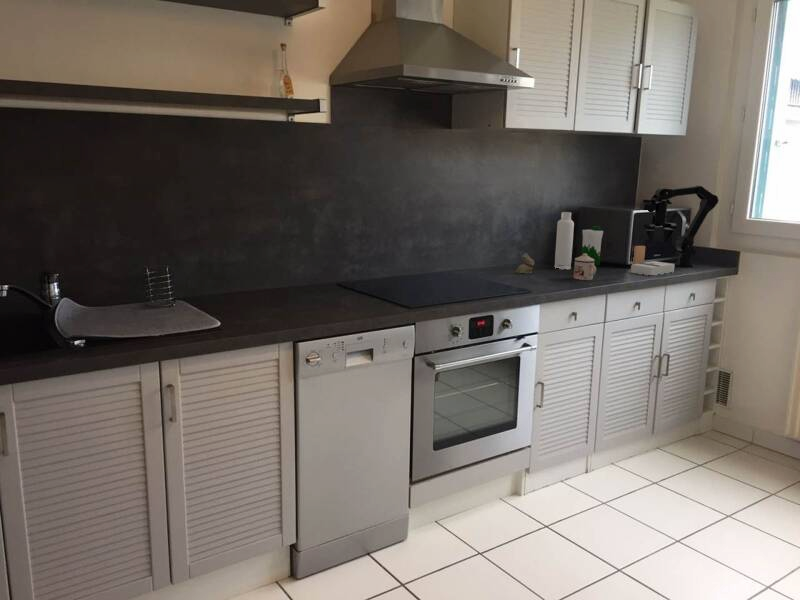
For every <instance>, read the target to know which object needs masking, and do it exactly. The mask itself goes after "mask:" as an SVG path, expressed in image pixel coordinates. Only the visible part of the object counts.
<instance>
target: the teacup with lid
mask: <svg viewBox="0 0 800 600" xmlns="http://www.w3.org/2000/svg"><path fill="white" fill-rule="evenodd" d="M594 262H595V260H594V259H592V258H590V257H589V256H587V254H585V253H584V254H583V256H582V255H580V256H578V257H575V258H574V264H573V265H574V267H573V279H575V280H578V279H579V280H580V281H591V280H593V279H594V275H595V274H596V272H597V267H596V266H595V265H594Z"/></svg>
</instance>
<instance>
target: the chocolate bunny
mask: <svg viewBox="0 0 800 600" xmlns="http://www.w3.org/2000/svg"><path fill="white" fill-rule="evenodd" d="M521 259H522V260H523V263H522V264H520V265H518V267H517V269H516V271H515V273H516V272H517V273H516V274H518V273H532V274H533V272H532V271H533V270H534V266H535V261H534V259H533V258H531V257H530V256H529V254H528V253H527V252H525V253H524V254H523V255H521Z"/></svg>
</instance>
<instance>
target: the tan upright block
mask: <svg viewBox="0 0 800 600" xmlns="http://www.w3.org/2000/svg"><path fill="white" fill-rule="evenodd" d="M634 246H635V247H634V257H633V262H634V263H633V264H639V262H640V263H645V256H646V246H645V245H634Z"/></svg>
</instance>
